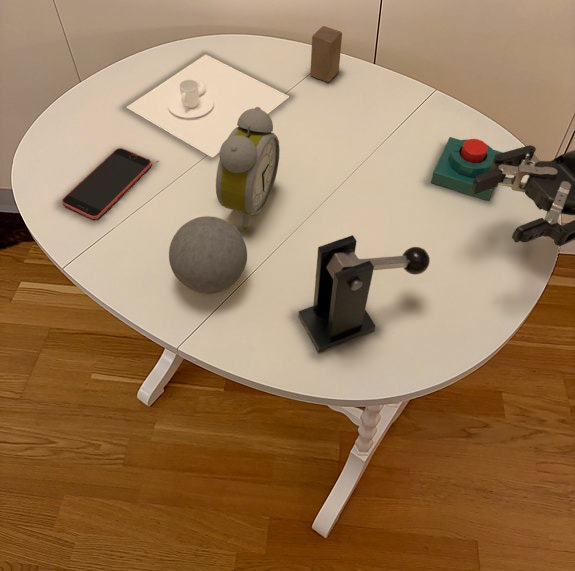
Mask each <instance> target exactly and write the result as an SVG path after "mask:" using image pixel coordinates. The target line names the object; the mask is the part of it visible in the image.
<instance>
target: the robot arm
mask: <svg viewBox="0 0 575 571" xmlns="http://www.w3.org/2000/svg"><path fill="white" fill-rule="evenodd" d="M536 150H537V148H536V147H535V146H534V145H532V144H531V145H530V144H529V145H525V146H521V147H518V148H515V149H511V150H507V151H502V152H503V153H499V154H496V155H495V156H494V159H493V161H492V164H491V167H490V169H489V171H488V172H485V173H482V174H479V175H477V176H476V177H475V179H474V182H473V184H472V187H471V191H472V192H473V193H474V194H478V193H480V192H483V191H486V190H489V189H492V188H493V189H495V188H497V187H498V186H502V187H509V188H510V189H511V190H512V191H514V192H521V193H524V194H525V196H526V197H527V198H529V199H530V200H531V201H532V202H533V203H534V205H535V206H536V208H537V209H539V210H543V211H545V212H546V213H545V216H544V217H540V218H537V219H535V220H531V221H529V222H527V223H523V224H521V225H519V226H517V227H516V228H515V229H514V231H513V233H512V235H511V239H512V240H513V241H514V243H518V242H520V243H521V244H522V243H523V244H524V243H529V242H531V241H534V240H536V239H539V238H550V239H551V240H553V241H552V243H553V244H554V245H555V246H557V247H562V246H565V245H566V244H568V243H571V242H572V241H575V219H573V220H572V221H569V222H567V223H565V224H563V225H561V223H559V222H558V221H559V218H560V215H567V216H575V149H573V150H570V151H567V152H564V153H562V154H560V155H558V156H557V157H555V158H554V159H552V160H540V159H539V158H538V157H537V156H536V155H535V153H536ZM507 175H508V176H509V177H508V176H507ZM510 176H513V177H510ZM525 176H528V178H527V180H526V181H525V182H522V180H523V178H524V177H525ZM493 189H492V190H493Z"/></svg>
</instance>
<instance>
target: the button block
mask: <svg viewBox="0 0 575 571" xmlns="http://www.w3.org/2000/svg"><path fill="white" fill-rule="evenodd" d="M469 139H470V138H469ZM469 139H468V138H467V139H459V138H455V137H452V136H449V137H448V139H447V142H446V143H445V146H444V148H443V150H442V152H441V154H440V156H439V159H438V160H437V164H436V165H435V167H434V170H433V173H432V176H431V179H430V183H431V184H434V185H437V186H440V187H444V188H447V189H449V190H453V191H456V192H459V193H462V194H466V195H469V196H472V197H475V198H478V199H481V200H485V201H489V199H490V197H491V195H492V192H493V189H494V188H492V189H489V190H486V191H483V192H480V193H478V194H474V193H473V192H472V191H471V187H472V184H473V182H474V179H475V177H476V176H477V175H479V174H482V173H485V172H488V171H489V169H490V167H491V164H492V161H493V159H494V156H495V155H496V154H499V153H503V152H504V151H499V150H496V149H493V148H492V147H491V146H490V145H489V144H487V143H486V142H484V143H485V144H486V145H487V147H488V150H487V153H486V155H485V158H484V160H483V161H482V162H480V163H471V162H468V161H465V160H464V159H463V158H462V157H461V150H462V147H463V144H464V142H465V141H466V140H469Z"/></svg>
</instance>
